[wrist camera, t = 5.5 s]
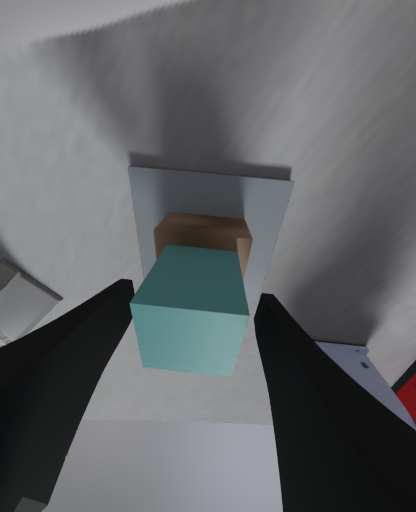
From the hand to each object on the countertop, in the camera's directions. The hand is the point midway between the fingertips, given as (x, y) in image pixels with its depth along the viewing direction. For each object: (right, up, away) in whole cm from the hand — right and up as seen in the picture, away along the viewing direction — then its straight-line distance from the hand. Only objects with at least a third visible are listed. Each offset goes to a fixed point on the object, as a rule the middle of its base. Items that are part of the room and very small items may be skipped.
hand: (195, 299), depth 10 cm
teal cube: (0, +1, +2) cm, 2 cm away
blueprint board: (0, +4, +6) cm, 7 cm away
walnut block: (0, +3, +6) cm, 6 cm away
